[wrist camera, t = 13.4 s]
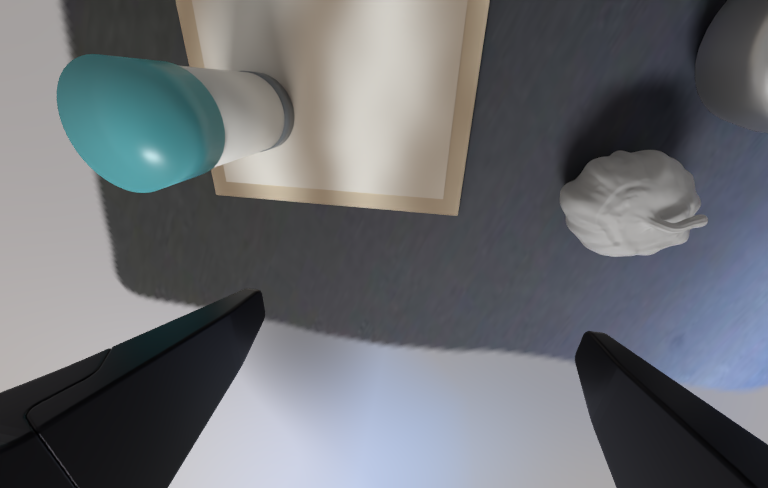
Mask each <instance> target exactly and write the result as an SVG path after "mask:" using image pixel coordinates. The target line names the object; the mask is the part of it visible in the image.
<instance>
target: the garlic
mask: <svg viewBox="0 0 768 488" xmlns="http://www.w3.org/2000/svg"><path fill="white" fill-rule="evenodd" d="M560 205H561V207H562V209H563V211H564V213H565V215H566V224H567V226H568V228H569V229H570V230H571V231H572V232H573V233H574V234H575V235H576V236H577V238H579V240H580V241H581V243H582V244H583V245H584V246H585V247H586V248H588V249H590V250H592V251H594V252H596V253H598V254H601V255H607V256H612V257H619V256H633V255H651V254H654V253H656V252H658V251H659V250H661V249H664V248H667V247H669V246H674V245H679V244H682V243H684V242H686V241H687V240H688V237H689V232H690V229H692V228H697V227H702V226H704V225H706V224H707V222H708V218H707V217H706V216H705V215H696V216H694V215H695V213H696V212H697V211H698V209H699V208H700V206H701V200H700V198H699V196H698V195H697V193H696V190H695V183H694V178H693V176H692V174H691V173H690V172H688V171H687V170H685V169H684V167H683V166H682V164H681V163H680V162H678V161H677V160H676V159H674V158H671V157H669V156H667V155H666V154H665V153H663V152H661V151H657V150H642V151H637V152H632V153H629V152H626V151H621V150H620V151H616V152H614V153H612V154H611V155H610V156H604V157H599V158H596V159H593V160H591V161H590V162H589V163H588V164H587V165H586V166H585V168H584V169H583V171H582V172H581V174H580V175H579V176H578V177H577V178H576V179H575V180H573V181H571V182H569V183H567V184H565V185H564V186H563V187H562V189H561V192H560Z"/></svg>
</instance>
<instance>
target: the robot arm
mask: <svg viewBox="0 0 768 488" xmlns="http://www.w3.org/2000/svg"><path fill="white" fill-rule="evenodd" d="M264 318H265V309H264V303H263V297H262V293H261V291H260V290H256V289H244V290H242V291H239V292H237V293H235V294H232V295H230V296H228V297H226V298H223V299H221V300H219V301H216V302H214V303H212V304H210V305H207V306H205V307H203V308H200V309H198V310H196V311H194V312H191V313H189V314H187V315H184V316H182V317H180V318H178V319H175V320H173V321H171V322H168V323H166V324H164V325H162V326H159V327H157V328H155V329H152V330H150V331H148V332H146V333H143V334H141V335H139V336H137V337H134V338H132V339H130V340H127V341H125V342H123V343H120V344H118V345H116V346H114V347H112V349H106V350H104V351H102V352H100V353H98V354H95V355H93V356H91V357H88V358H86V359H84V360H81V361H79V362H76V363H74V364H72V365H70V366H67V367H65V368H62V369H60V370H57V371H55V372H52V373H50V374H47V375H45V376H42V377H40V378H37V379H34V380H32V381H29V382H27V383H24V384H22V385H19V386H17V387H14V388H12V389H9V390H6V391H4V392H1V393H0V488H168V486H169V485H170V483H171V481H172V480H173V478H174V477H175V475H176V473H177V472H178V470H179V468H180V467H181V465H182V463H183V462H184V460H185V458H186V457H187V455H188V454H189V452H190V450H191V449H192V447H193V445H194V443H195V442H196V440H197V439H198V437H199V435H200V434H201V432H202V431H203V429H204V427H205V426H206V424H207V422H208V421H209V419H210V417H211V416H212V414H213V412H214V411H215V409H216V408H217V406H218V404H219V403H220V401H221V399H222V398H223V396H224V394H225V393H226V391H227V389H228V388H229V386H230V384H231V383H232V381H233V380H234V378H235V376H236V375H237V373H238V371H239V370H240V368H241V366H242V364H243V362H244V361H245V359H246V357H247V354H248V352H249V350H250V348H251V346H252V344H253V342H254V340H255V338H256V335H257V333H258V331H259V329H260V327H261V325H262V323H263V321H264ZM575 363H576V367H577V371H578V374H579V378H580V382H581V386H582V389H583V393H584V397H585V400H586V404H587V408H588V412H589V415H590V418H591V422H592V424H593V427H594V430H595V433H596V435H597V438H598V440H599V443H600V446H601V448H602V451H603V453H604V456H605V459H606V461H607V464H608V467H609V469H610V472H611V474H612V477H613V479H614V482H615V485H616V487H617V488H768V445H767V444H766V443H764V442H763V441H761V440H760V439H758V438H757V437H756V436H754V435H753V434H751V433H750V432H748V431H747V430H745V429H744V428H742V427H741V426H739V425H738V424H736V423H735V422H733V421H732V420H731V419H729V418H728V417H726V416H725V415H723V414H722V413H720V412H719V411H717V410H716V409H715V408H713V407H712V406H710V405H709V404H707V403H706V402H705V401H703V400H701V399H700V398H699V397H697V396H696V395H694V394H693V393H691V392H690V391H688V390H687V389H686V388H684V387H683V386H681V385H680V384H678V383H677V382H675V381H674V380H672V379H671V378H669V377H668V376H667V375H665V374H664V373H662V372H661V371H659V370H658V369H656V368H655V367H653V366H652V365H651V364H649V363H648V362H646V361H645V360H643V359H642V358H640V357H639V356H637V355H636V354H634V353H633V352H632V351H630V350H629V349H627V348H626V347H624V346H623V345H621V344H620V343H618V342H617V341H616V340H614V339H613V338H611V337H610V336H608V335H607V334H605V333H601V332H593V331H587V332H585V333H584V335H583V337H582V340H581V342H580V345H579V347H578V349H577V352H576V355H575Z"/></svg>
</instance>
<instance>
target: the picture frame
mask: <svg viewBox="0 0 768 488" xmlns="http://www.w3.org/2000/svg"><path fill="white" fill-rule="evenodd" d="M489 1H490V0H176V4H177V9H178V14H179V19H180V24H181V28H182V33H183V38H184V43H185V47H186V52H187V57H188V62H189V66H190V67H197V68H208V69H219V70H229V71H251V72H260V73H264V74H267V75H269V76H271V77H272V78H274V79H275V80H277V81H278V82H279V83H280V84H281V85H282V86H283V87H284V89H285V90H286V92H287V93H288V95H289V97H290V99H291V102H292V105H293V108H294V126H293V130H292V132H291V134H290V136H289V138H288V139H287V140H286V141H285V142H284V143H283V144H281V145H280V146H278V147H275V148H272V149H269V150H266V151H263V152H258V153H255V154H252V155H249V156H246V157H243V158H240V159H237V160H234V161H232V162H229V163H226V164H223V165H220V166H217V167H214V168H212V169H211V171H212V176H213V181H214V186H215V190H216V195H225V196H236V197H248V198H259V199H271V200H282V201H294V202H305V203H317V204H328V205H339V206H351V207H362V208H374V209H385V210H397V211H408V212H420V213H431V214H443V215H454V216H458V210H459V203H460V196H461V190H462V183H463V176H464V170H465V163H466V156H467V149H468V143H469V136H470V129H471V122H472V116H473V109H474V102H475V96H476V89H477V82H478V75H479V69H480V62H481V55H482V48H483V42H484V35H485V28H486V22H487V15H488V8H489Z"/></svg>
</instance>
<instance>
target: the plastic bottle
mask: <svg viewBox="0 0 768 488" xmlns="http://www.w3.org/2000/svg"><path fill="white" fill-rule="evenodd" d="M695 83H696V88H697V93H698V95H699V97H700V99H701V101H702V103H703V104H704V105H705V107H706V108H707V109H708V110H709V111H710V112H711V113H712V114H714V115H715V116H717V117H719V118H720V119H722V120H725V121H727V122H730V123H732V124H735V125H738V126H740V127H743V128H746V129H749V130H752V131H755V132H764V133H768V0H727V1H726V3H725V4H724V5H723V6H722V7H721V9H720V10H719V11H718V12H717V14H716V15H715V17H714V19H713V20H712V22H711V24H710V25H709V27H708V29H707V30H706V33H705V35H704V37H703V40H702V42H701V44H700V47H699V49H698V53H697V58H696V62H695Z"/></svg>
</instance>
